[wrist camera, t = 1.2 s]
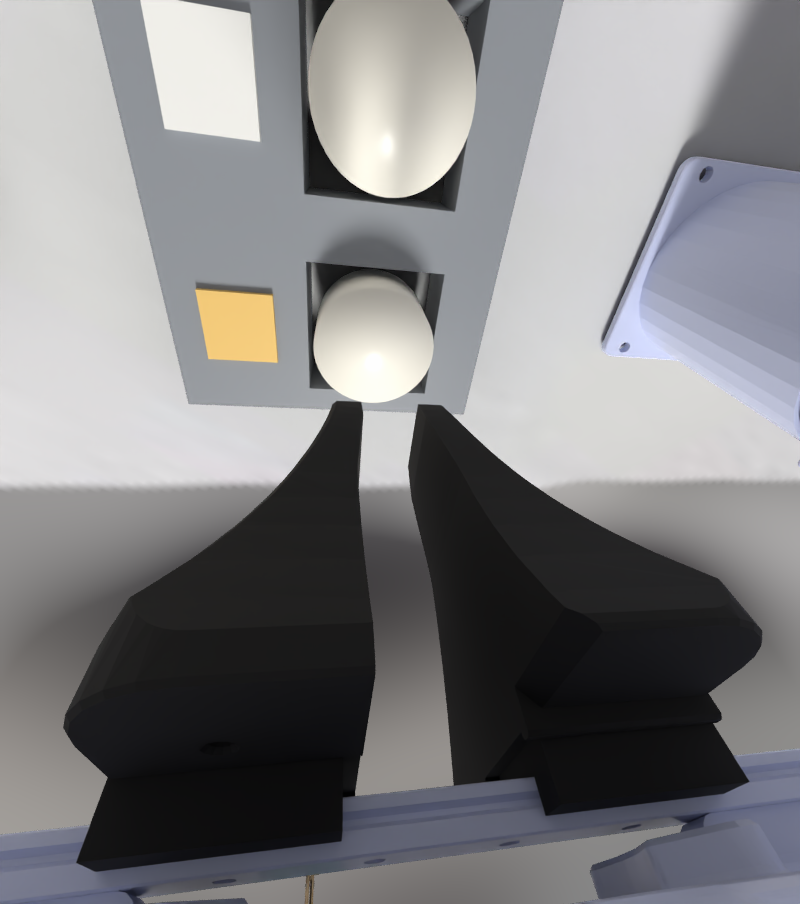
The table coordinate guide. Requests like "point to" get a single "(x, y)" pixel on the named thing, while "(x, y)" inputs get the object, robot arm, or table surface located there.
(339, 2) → the button middle
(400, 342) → the button end
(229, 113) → the button board
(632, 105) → the table surface
